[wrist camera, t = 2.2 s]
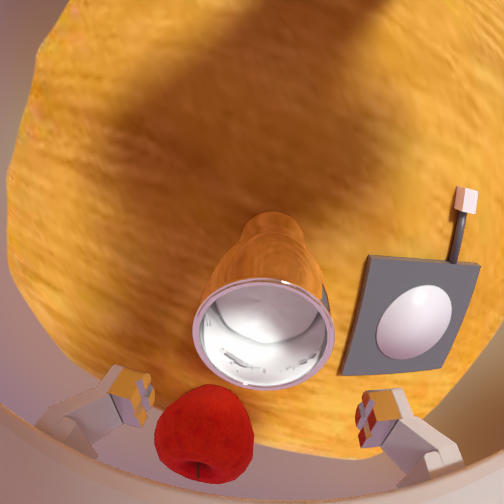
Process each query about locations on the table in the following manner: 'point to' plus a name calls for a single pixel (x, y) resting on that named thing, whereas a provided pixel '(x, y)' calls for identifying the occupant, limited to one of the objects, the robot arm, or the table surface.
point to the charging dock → (412, 307)
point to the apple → (205, 436)
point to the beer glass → (265, 309)
